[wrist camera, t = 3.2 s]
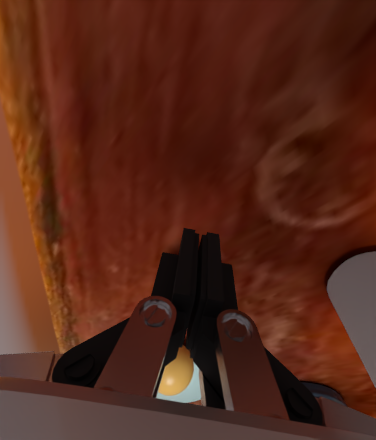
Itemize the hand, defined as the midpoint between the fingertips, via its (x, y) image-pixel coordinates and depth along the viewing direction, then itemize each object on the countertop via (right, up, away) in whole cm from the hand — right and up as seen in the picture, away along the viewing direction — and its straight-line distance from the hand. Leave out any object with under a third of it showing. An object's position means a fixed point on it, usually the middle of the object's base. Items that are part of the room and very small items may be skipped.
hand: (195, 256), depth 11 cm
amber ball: (-2, -16, +17) cm, 24 cm away
